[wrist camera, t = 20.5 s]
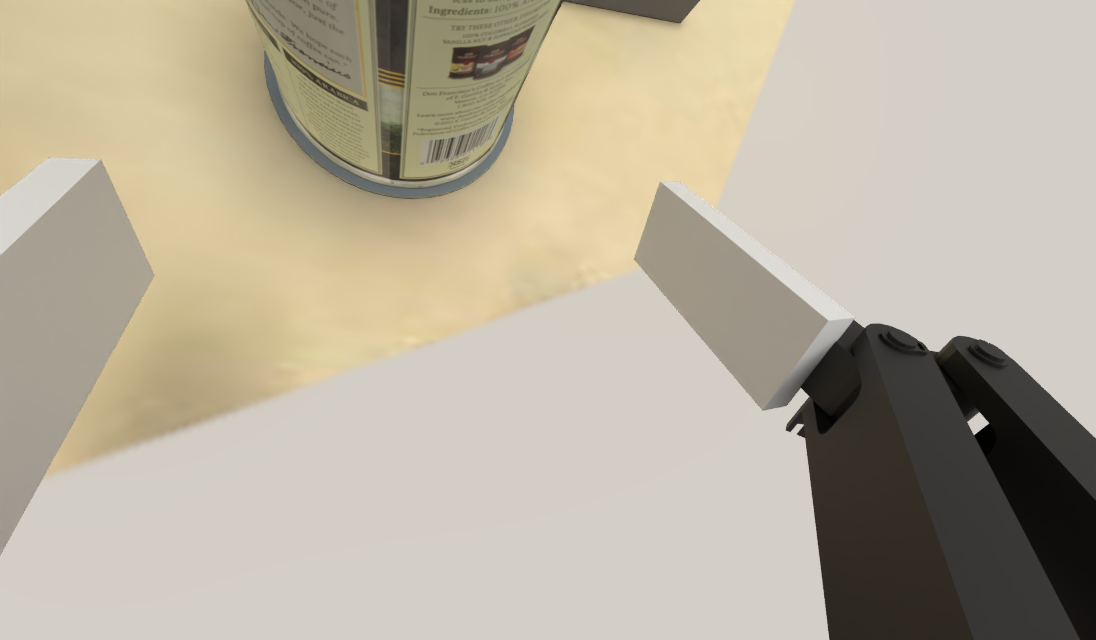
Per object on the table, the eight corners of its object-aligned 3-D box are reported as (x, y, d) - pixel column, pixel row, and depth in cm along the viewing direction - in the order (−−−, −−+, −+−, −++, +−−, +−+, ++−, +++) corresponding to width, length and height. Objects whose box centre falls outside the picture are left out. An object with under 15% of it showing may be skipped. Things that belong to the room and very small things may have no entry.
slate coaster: (274, 196, 19) (273, 193, 18) (257, -48, 19) (256, -54, 19) (522, 200, 22) (524, 198, 22) (501, -3, 23) (502, -8, 23)
